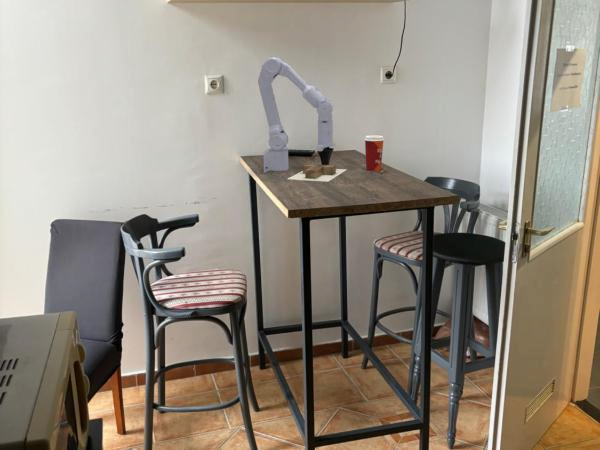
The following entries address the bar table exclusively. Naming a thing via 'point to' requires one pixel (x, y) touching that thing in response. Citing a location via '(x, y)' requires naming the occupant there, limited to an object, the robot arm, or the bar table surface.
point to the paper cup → (373, 152)
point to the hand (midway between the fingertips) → (325, 166)
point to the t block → (318, 170)
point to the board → (322, 178)
